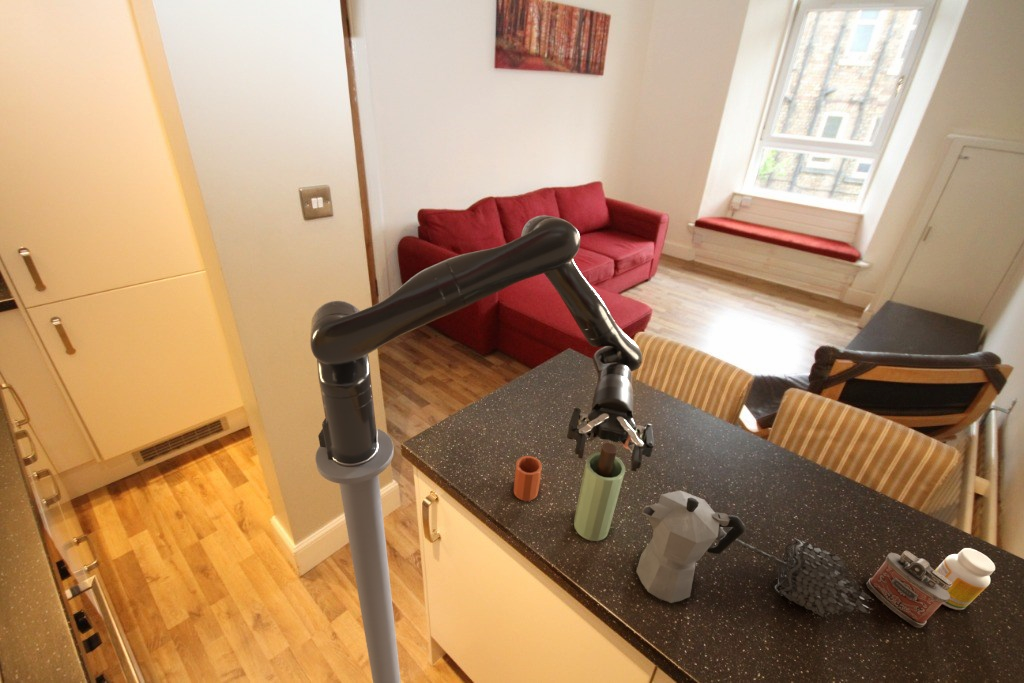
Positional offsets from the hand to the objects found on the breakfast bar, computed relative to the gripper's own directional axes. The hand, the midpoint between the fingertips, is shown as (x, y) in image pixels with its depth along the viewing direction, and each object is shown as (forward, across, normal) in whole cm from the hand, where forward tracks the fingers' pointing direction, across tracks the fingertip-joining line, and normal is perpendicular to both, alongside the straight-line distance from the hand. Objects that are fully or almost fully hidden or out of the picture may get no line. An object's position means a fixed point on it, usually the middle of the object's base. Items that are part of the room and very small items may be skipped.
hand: (607, 460), depth 71 cm
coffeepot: (+4, +14, +18) cm, 23 cm away
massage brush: (0, +31, +18) cm, 36 cm away
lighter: (-2, +49, +18) cm, 53 cm away
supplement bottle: (-6, +59, +18) cm, 62 cm away
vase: (-2, 0, +18) cm, 18 cm away
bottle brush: (-2, 0, +17) cm, 17 cm away
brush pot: (-6, -13, +18) cm, 23 cm away
